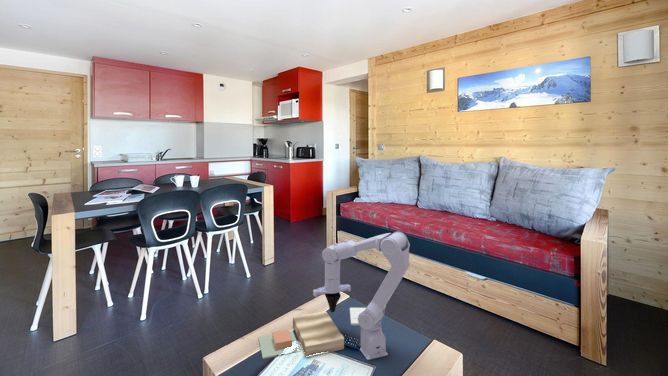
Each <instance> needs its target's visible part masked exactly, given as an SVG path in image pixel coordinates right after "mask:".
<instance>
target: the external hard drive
mask: <svg viewBox="0 0 668 376" xmlns="http://www.w3.org/2000/svg"><path fill="white" fill-rule="evenodd" d="M366 308H367V307H349V317H350V318H349V319H350V326H355V327H356V326H358V327H359V326H360V325H359V323H358V316H359V314H360V313H362V312H363V311H364V310H365V309H366Z"/></svg>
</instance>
